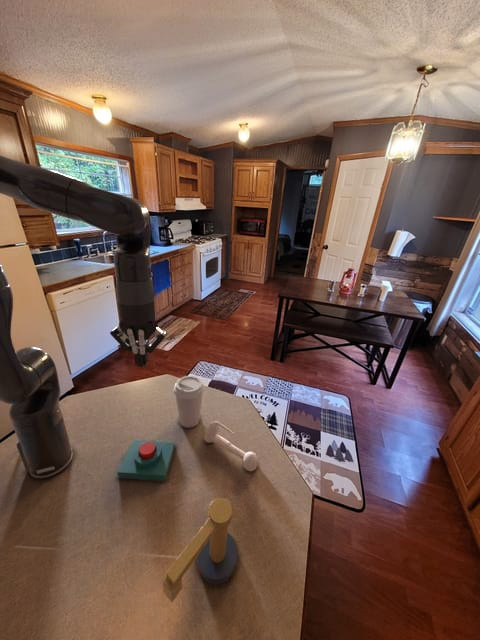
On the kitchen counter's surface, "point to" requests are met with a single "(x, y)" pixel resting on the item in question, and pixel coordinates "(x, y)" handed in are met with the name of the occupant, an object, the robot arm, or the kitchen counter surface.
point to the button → (147, 450)
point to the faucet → (230, 445)
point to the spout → (197, 546)
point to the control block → (147, 462)
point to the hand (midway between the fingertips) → (142, 365)
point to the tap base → (218, 558)
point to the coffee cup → (189, 400)
